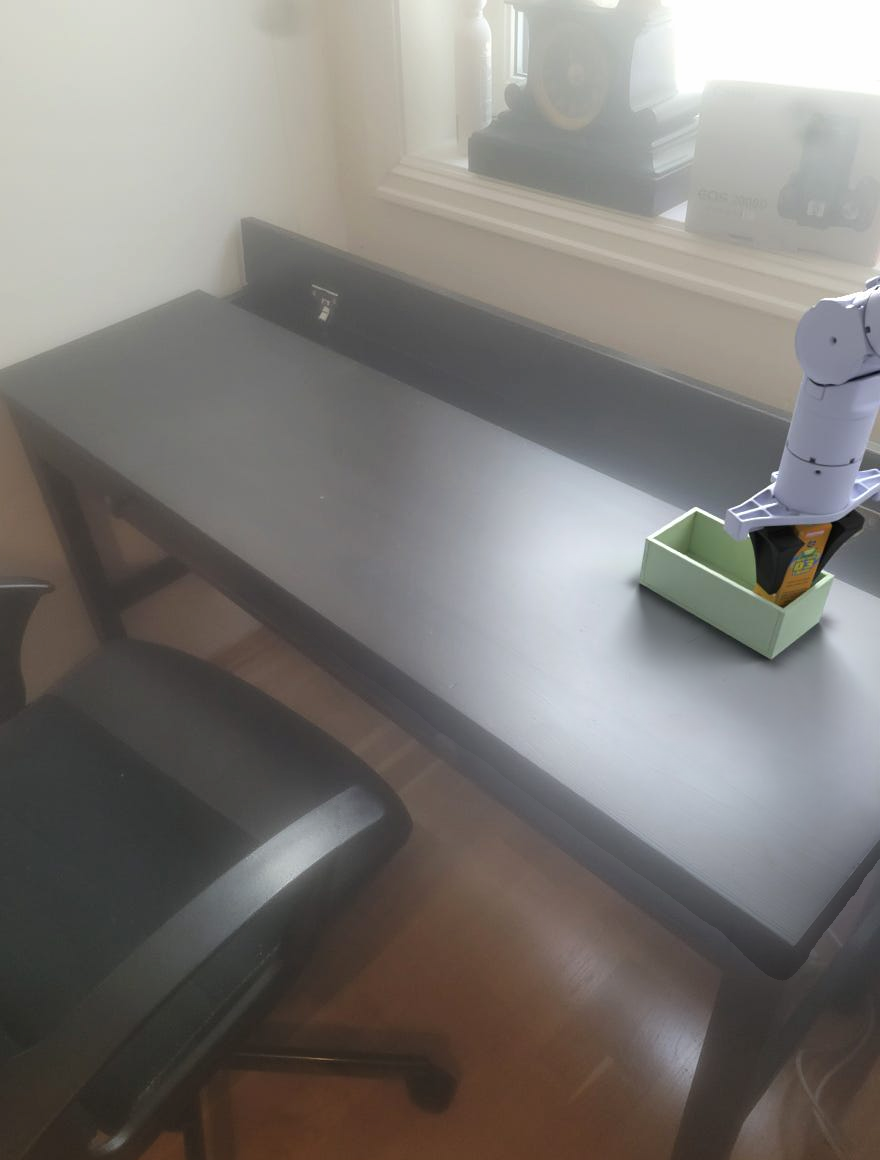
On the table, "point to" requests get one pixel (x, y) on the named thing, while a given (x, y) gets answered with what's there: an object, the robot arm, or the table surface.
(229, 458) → the table surface
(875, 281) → the robot arm
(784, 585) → the supplement box
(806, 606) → the storage bin
